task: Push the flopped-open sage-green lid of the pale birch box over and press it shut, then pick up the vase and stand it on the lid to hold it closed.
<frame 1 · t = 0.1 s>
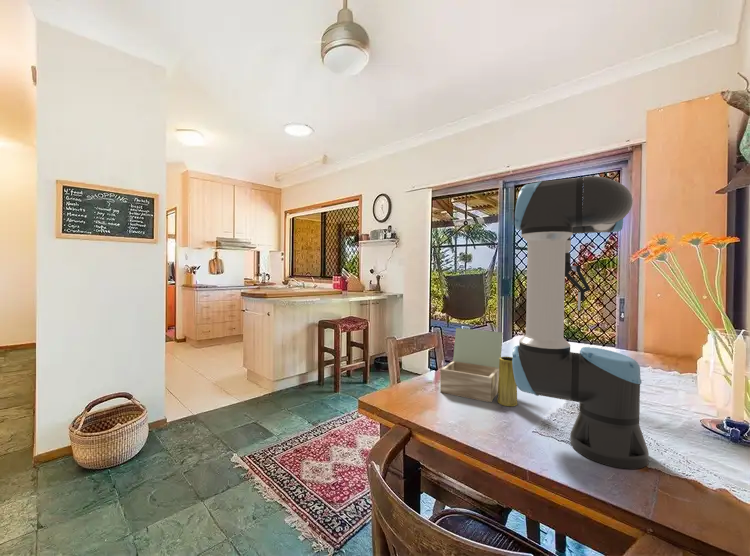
hand: (558, 309, 128), 28 cm above the table, fingers open, 13 cm apart
lid: (477, 347, 126), point 14 cm above the table, hinge at 105.0°
box: (470, 391, 119), on the table
vase: (507, 403, 109), on the table
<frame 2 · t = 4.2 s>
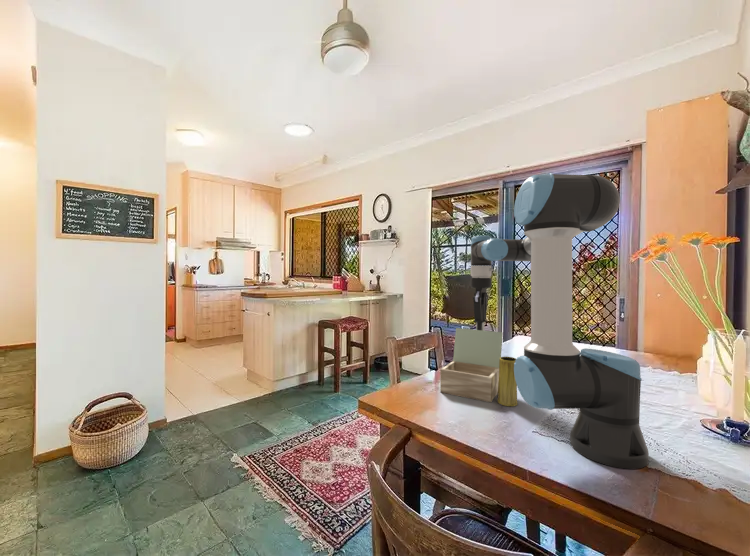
hand: (480, 339, 129), 16 cm above the table, fingers closed
lid: (477, 347, 126), point 14 cm above the table, hinge at 104.8°, touching gripper
everything else where it was.
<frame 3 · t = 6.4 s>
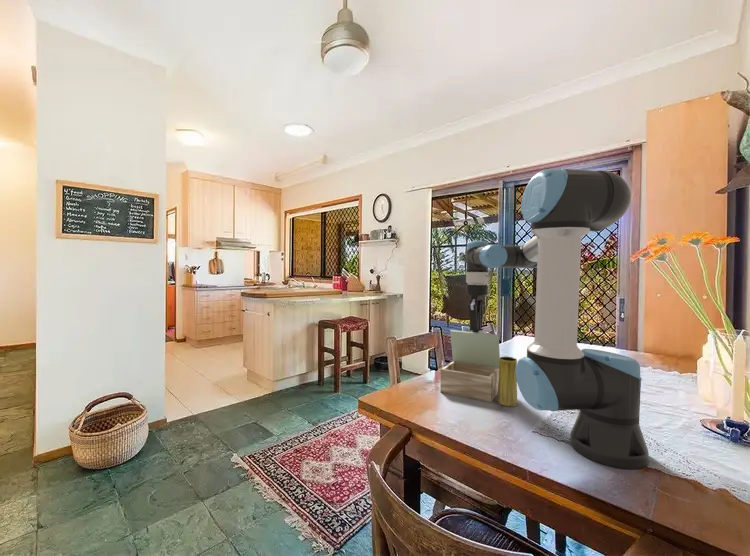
hand: (475, 348, 124), 14 cm above the table, fingers closed
lid: (474, 348, 123), point 14 cm above the table, hinge at 72.7°, touching gripper
everything else where it was.
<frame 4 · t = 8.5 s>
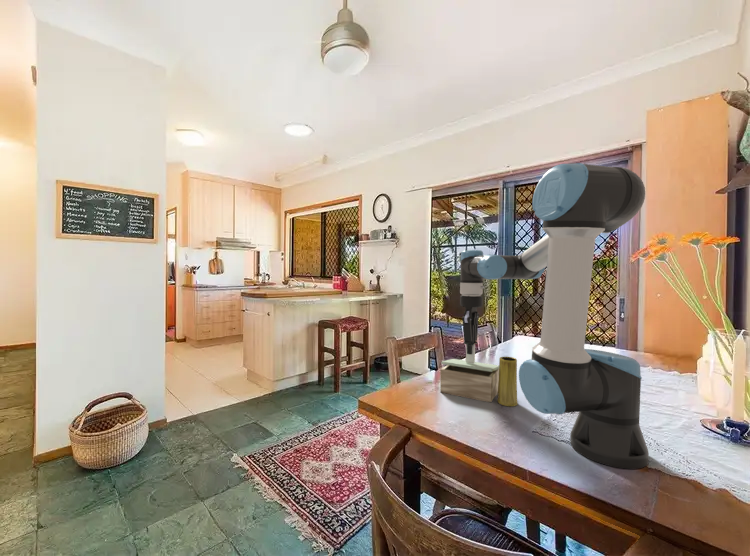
hand: (470, 362, 118), 10 cm above the table, fingers closed
lid: (470, 364, 119), point 9 cm above the table, hinge at 8.1°, touching gripper
everything else where it was.
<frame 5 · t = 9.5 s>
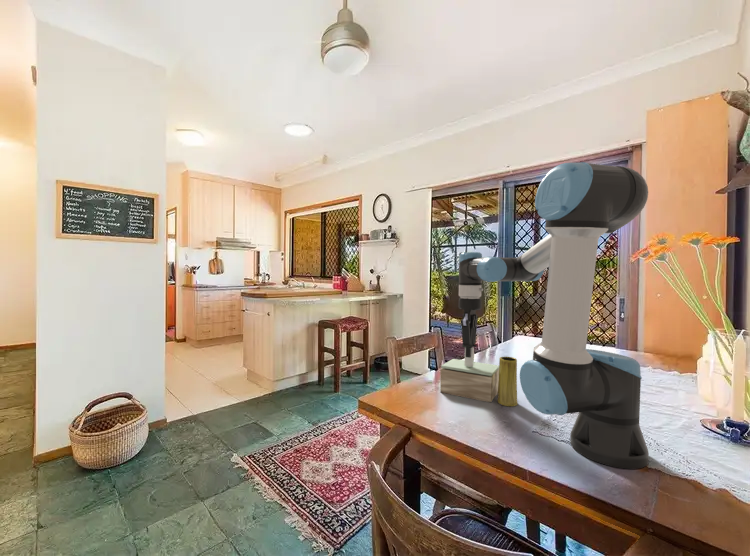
hand: (469, 365, 117), 9 cm above the table, fingers closed
lid: (470, 366, 119), point 9 cm above the table, hinge at 1.8°
everything else where it was.
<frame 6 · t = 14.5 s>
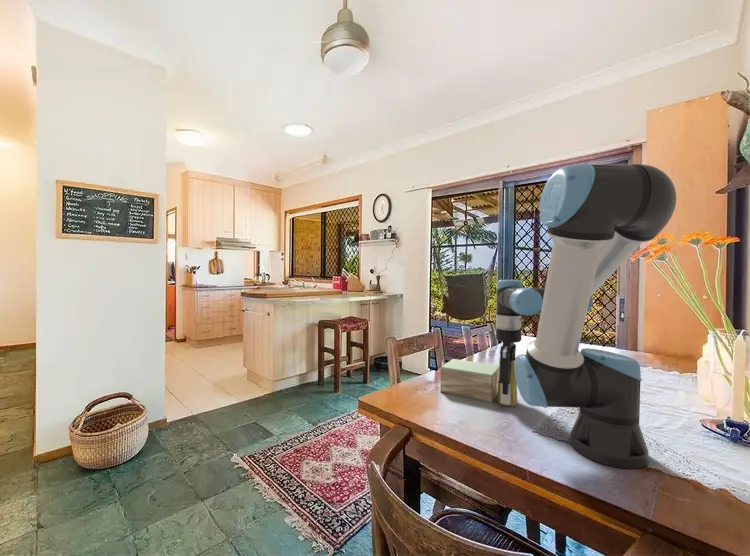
hand: (507, 400, 109), 1 cm above the table, fingers closed on vase, 6 cm apart
lid: (470, 367, 119), point 8 cm above the table, hinge at 0.0°, touching box
vase: (507, 403, 109), on the table, touching gripper
when the fingers open (11 cm above the table, at t = 18.6 s): vase drops 1 cm, resting on lid.
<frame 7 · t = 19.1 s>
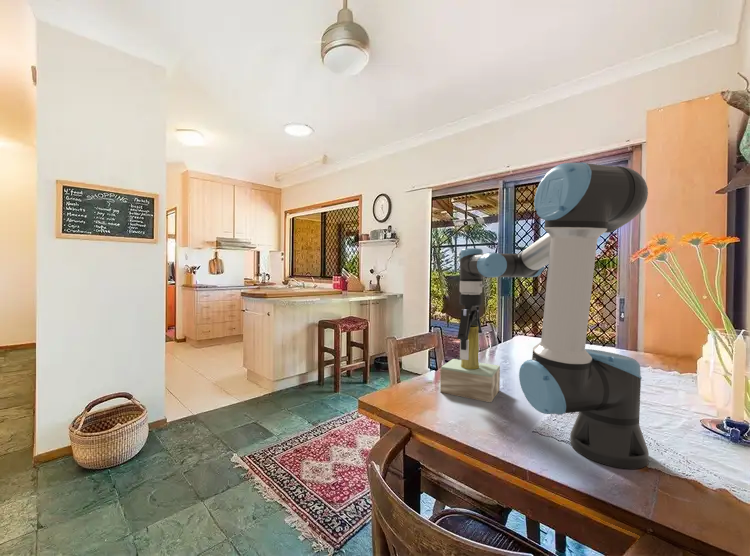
hand: (469, 355, 118), 13 cm above the table, fingers open, 13 cm apart
lid: (470, 367, 119), point 8 cm above the table, hinge at 0.0°, touching box, vase
vase: (469, 367, 118), point 9 cm above the table, touching lid
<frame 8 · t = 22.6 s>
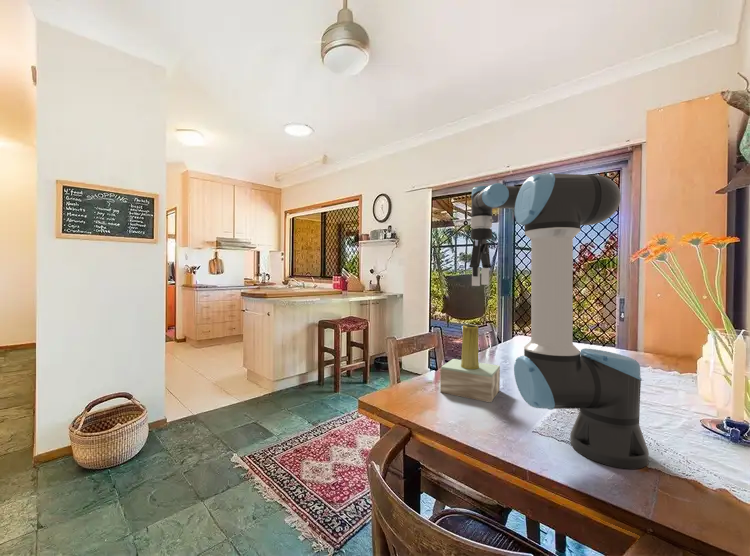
hand: (480, 285, 128), 37 cm above the table, fingers open, 13 cm apart
nothing on the table moved.
at the end: lid at +0° (first picture: +105°); vase inside the target area (1.0 cm from its centre), point 8.6 cm above the table; vase tilted 0° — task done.
